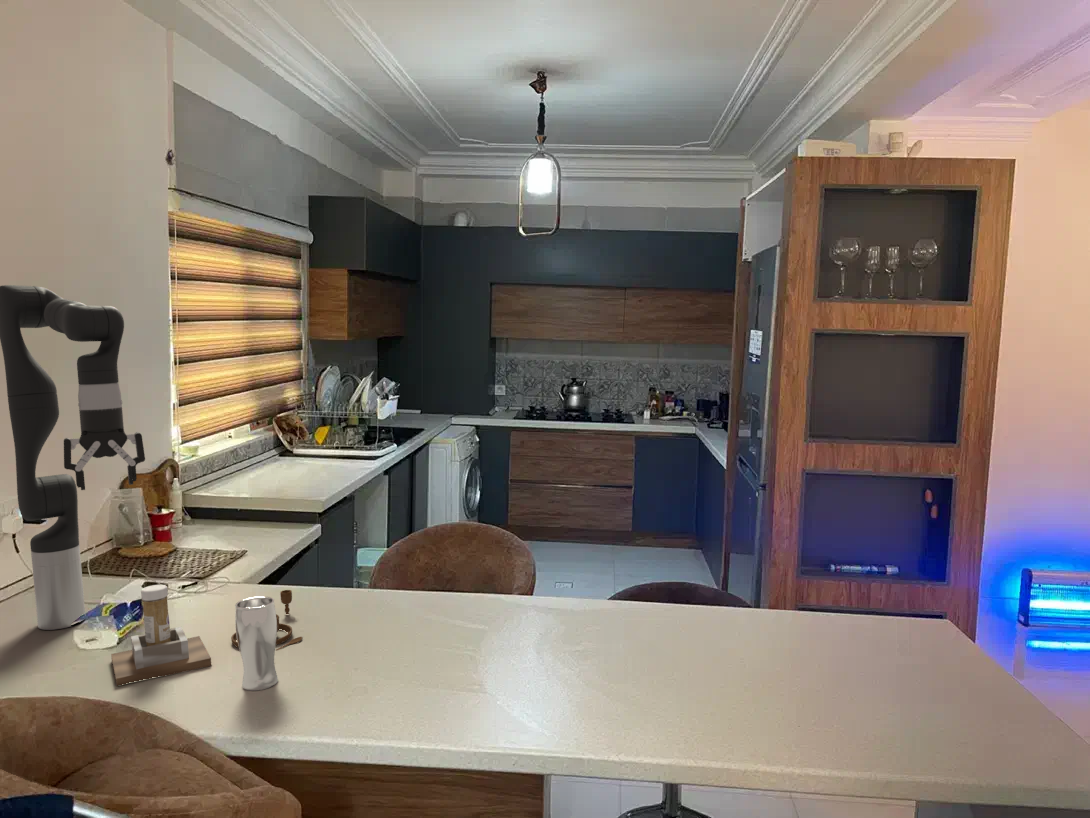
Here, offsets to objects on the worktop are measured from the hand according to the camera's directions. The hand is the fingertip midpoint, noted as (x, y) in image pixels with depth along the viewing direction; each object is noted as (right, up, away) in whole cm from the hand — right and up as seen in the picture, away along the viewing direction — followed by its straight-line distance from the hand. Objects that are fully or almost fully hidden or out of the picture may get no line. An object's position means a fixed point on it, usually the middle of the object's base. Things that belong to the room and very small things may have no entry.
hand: (107, 486), depth 164 cm
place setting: (+31, -32, +8) cm, 46 cm away
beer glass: (+37, -34, -17) cm, 53 cm away
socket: (+14, -33, -7) cm, 37 cm away
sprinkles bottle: (+14, -32, -7) cm, 35 cm away
